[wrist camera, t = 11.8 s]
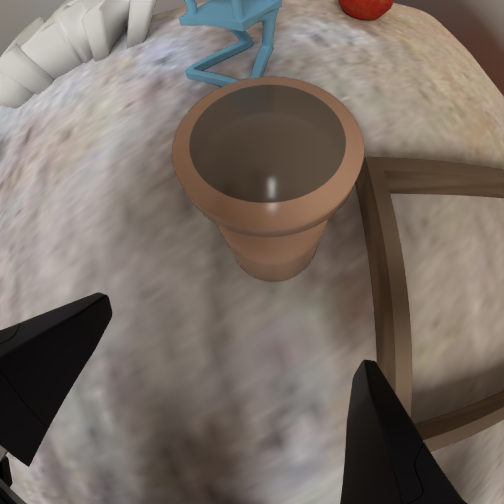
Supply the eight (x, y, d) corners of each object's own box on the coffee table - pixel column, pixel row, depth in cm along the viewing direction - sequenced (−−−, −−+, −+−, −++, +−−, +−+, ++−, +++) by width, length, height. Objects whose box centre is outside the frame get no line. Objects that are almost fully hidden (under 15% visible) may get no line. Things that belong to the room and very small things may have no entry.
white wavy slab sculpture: (183, 4, 31) (169, -44, 21) (174, 45, 26) (151, -23, 16) (25, 74, 33) (1, 44, 23) (-8, 132, 28) (-41, 100, 18)
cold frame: (541, 379, 12) (562, 379, 9) (374, 446, 13) (390, 463, 10) (515, 189, 17) (532, 175, 14) (355, 181, 19) (365, 156, 16)
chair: (293, 53, 24) (291, -46, 12) (252, 95, 22) (235, -28, 11) (231, 40, 26) (216, -47, 14) (185, 78, 24) (151, -22, 12)
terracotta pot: (342, 251, 17) (401, 158, 8) (259, 307, 17) (233, 267, 7) (285, 180, 19) (286, 59, 10) (208, 228, 19) (146, 126, 9)
